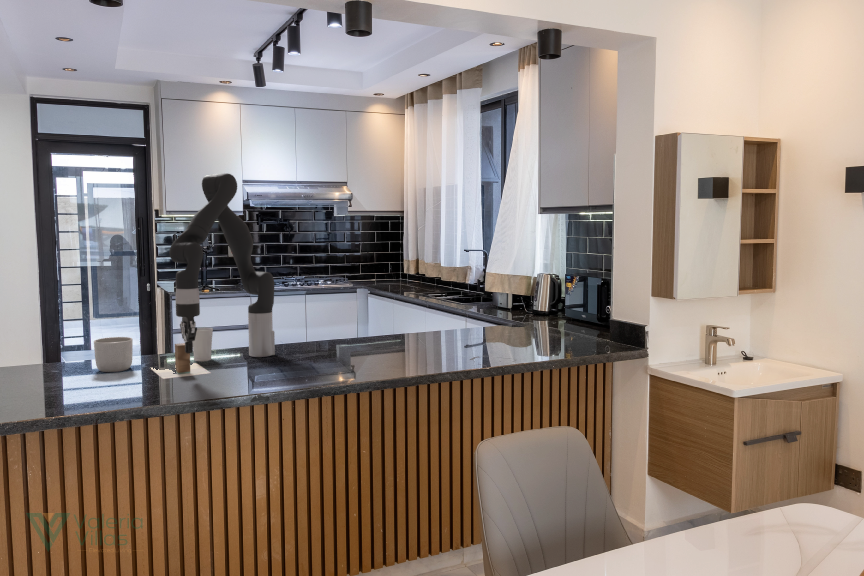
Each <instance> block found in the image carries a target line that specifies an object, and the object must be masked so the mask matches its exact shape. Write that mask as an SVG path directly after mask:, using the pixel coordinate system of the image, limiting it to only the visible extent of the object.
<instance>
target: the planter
mask: <svg viewBox="0 0 864 576" xmlns="http://www.w3.org/2000/svg"><path fill="white" fill-rule="evenodd" d="M93 347H94V348H93V349H94V358H95V359H94V360H95V365H96V369H97V370H98V371H100V372H103V373H119V372H123V371H127V370H129V369H130V368H131V367H132V364H133V350H134V349H133V338H132V337H129V336H113V337H112V336H111V337H103V338H97V339H95V340H94V341H93Z"/></svg>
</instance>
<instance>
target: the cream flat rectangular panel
mask: <svg viewBox="0 0 864 576" xmlns="http://www.w3.org/2000/svg"><path fill="white" fill-rule="evenodd" d="M192 363H193V364H192V365H190V373H186V374H173V373H175V372H173V371H172V370H169V369H165V370H159V369H158V370H156V369H155V368H154V369H153V367H150V368H151V369H150V370H151V371H153V373H155V374H156V375H158V376H159V378H161V379H163V380H166V379H173V378H182V377H190V376H191V377H192V376H198V375H206V374H207V375H208V374H211V372H210V371H208V370H207V369H206V368H204V367H203V366H201V365H200V364H198V363H196V362H192ZM175 370H176V369H175Z"/></svg>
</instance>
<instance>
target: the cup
mask: <svg viewBox="0 0 864 576" xmlns="http://www.w3.org/2000/svg"><path fill="white" fill-rule="evenodd" d="M213 330H214V329H213V327H205V326H204V327H197V332H196V337H195V341H193V361H195V362H208V361H211V360H212V346H213V343H212V342H213V332H214V331H213Z"/></svg>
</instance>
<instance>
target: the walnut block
mask: <svg viewBox="0 0 864 576" xmlns="http://www.w3.org/2000/svg"><path fill="white" fill-rule="evenodd" d="M174 360H175V361H174V362H175V364H174V365H175V368H176V373H177V374H186V373H190V363H191V353H186V352H185V342H182V343H181V342H179V343H174Z"/></svg>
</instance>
